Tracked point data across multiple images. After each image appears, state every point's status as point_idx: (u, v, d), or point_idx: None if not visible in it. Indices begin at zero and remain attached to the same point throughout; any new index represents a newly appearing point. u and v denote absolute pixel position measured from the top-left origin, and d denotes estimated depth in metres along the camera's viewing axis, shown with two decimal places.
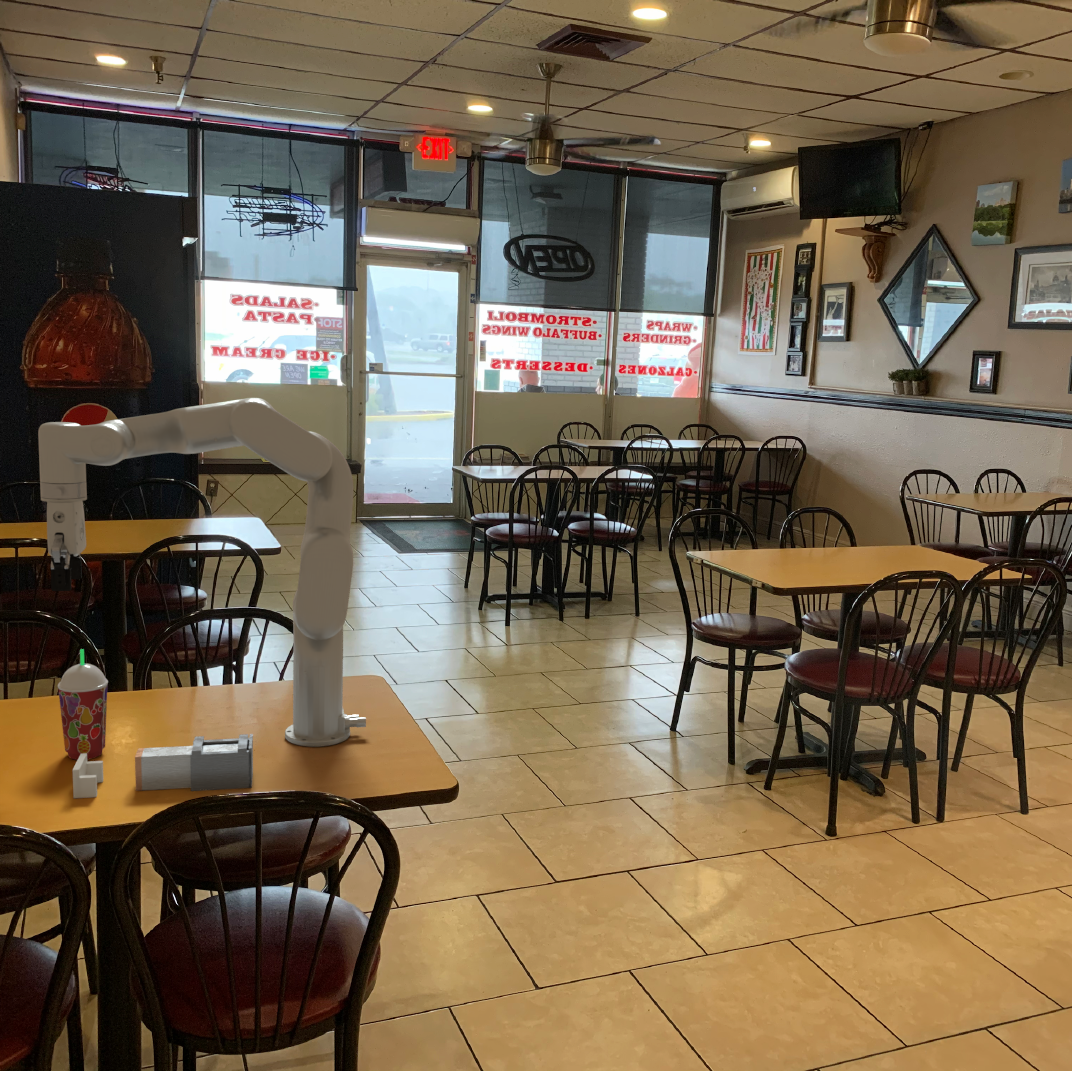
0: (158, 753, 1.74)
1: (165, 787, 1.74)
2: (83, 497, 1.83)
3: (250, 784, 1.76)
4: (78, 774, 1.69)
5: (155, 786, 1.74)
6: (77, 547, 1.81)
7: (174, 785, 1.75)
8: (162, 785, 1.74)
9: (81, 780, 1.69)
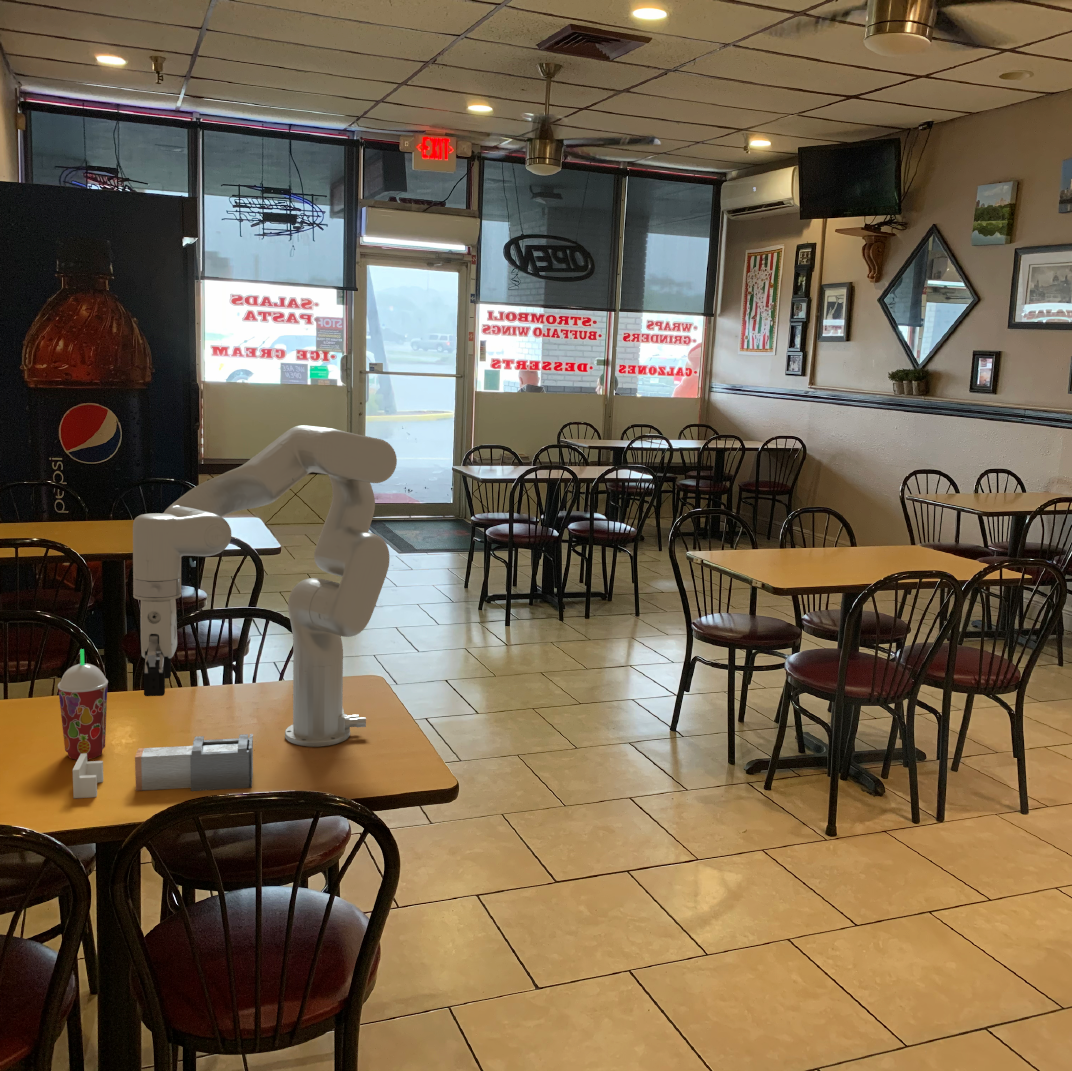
0: (158, 753, 1.74)
1: (165, 787, 1.74)
2: (178, 594, 1.70)
3: (250, 784, 1.76)
4: (78, 774, 1.69)
5: (155, 786, 1.74)
6: (172, 648, 1.69)
7: (174, 785, 1.75)
8: (162, 785, 1.74)
9: (81, 780, 1.69)
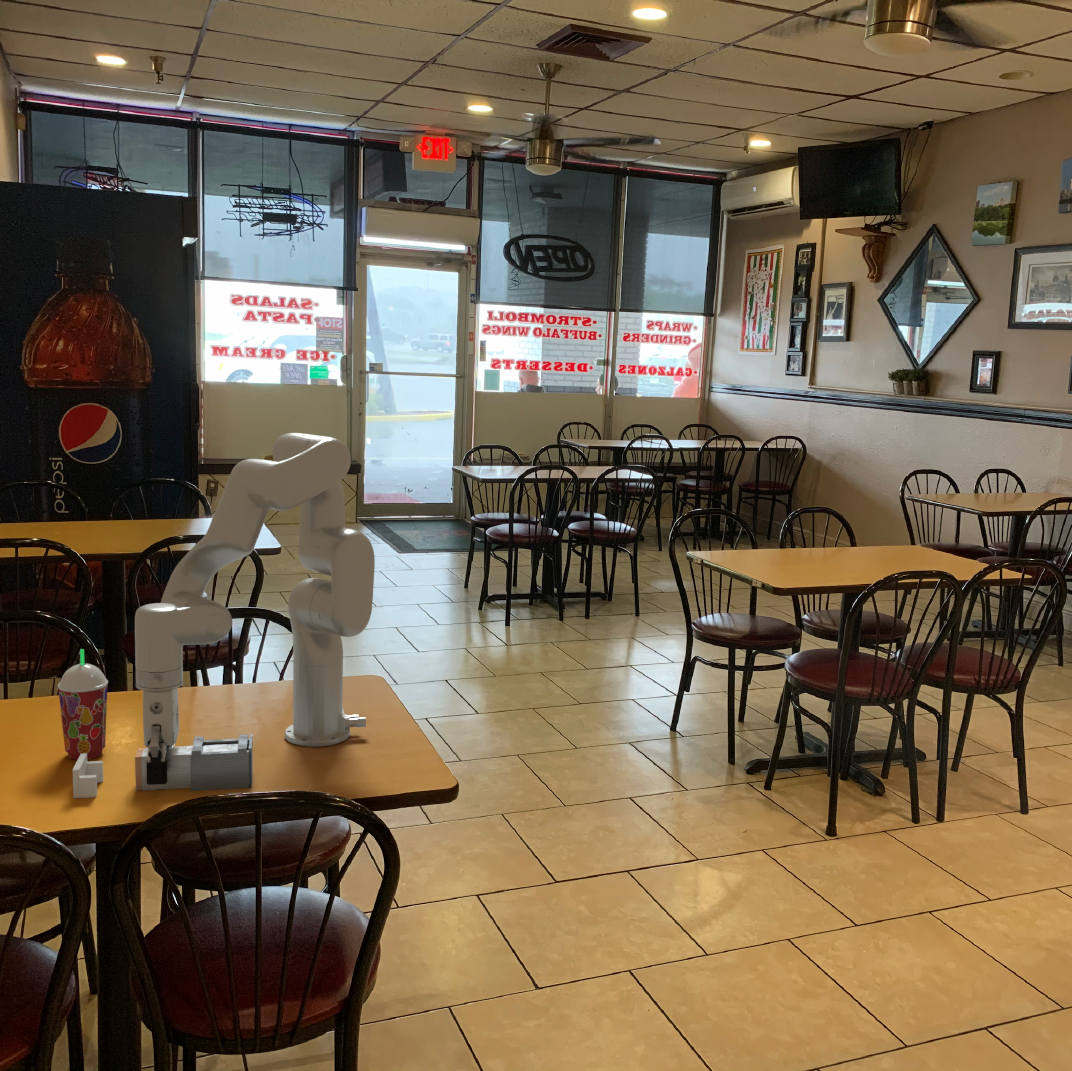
0: None
1: (165, 787, 1.74)
2: (180, 683, 1.73)
3: (250, 784, 1.76)
4: (78, 774, 1.69)
5: (155, 786, 1.74)
6: (174, 737, 1.71)
7: (174, 785, 1.75)
8: (162, 785, 1.74)
9: (81, 780, 1.69)
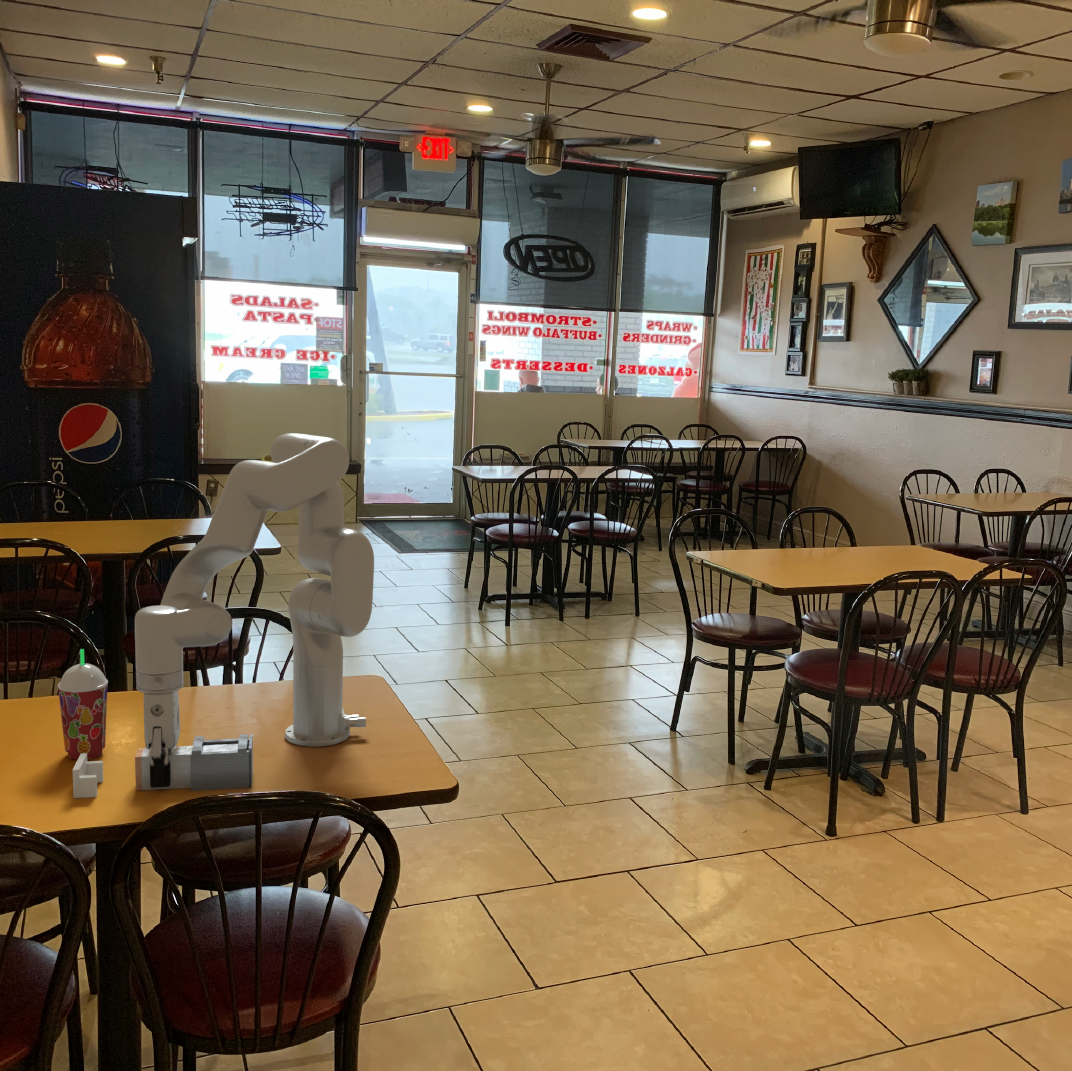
0: None
1: (165, 787, 1.74)
2: (180, 685, 1.73)
3: (250, 784, 1.76)
4: (78, 774, 1.69)
5: None
6: (175, 739, 1.72)
7: (174, 785, 1.75)
8: None
9: (81, 780, 1.69)
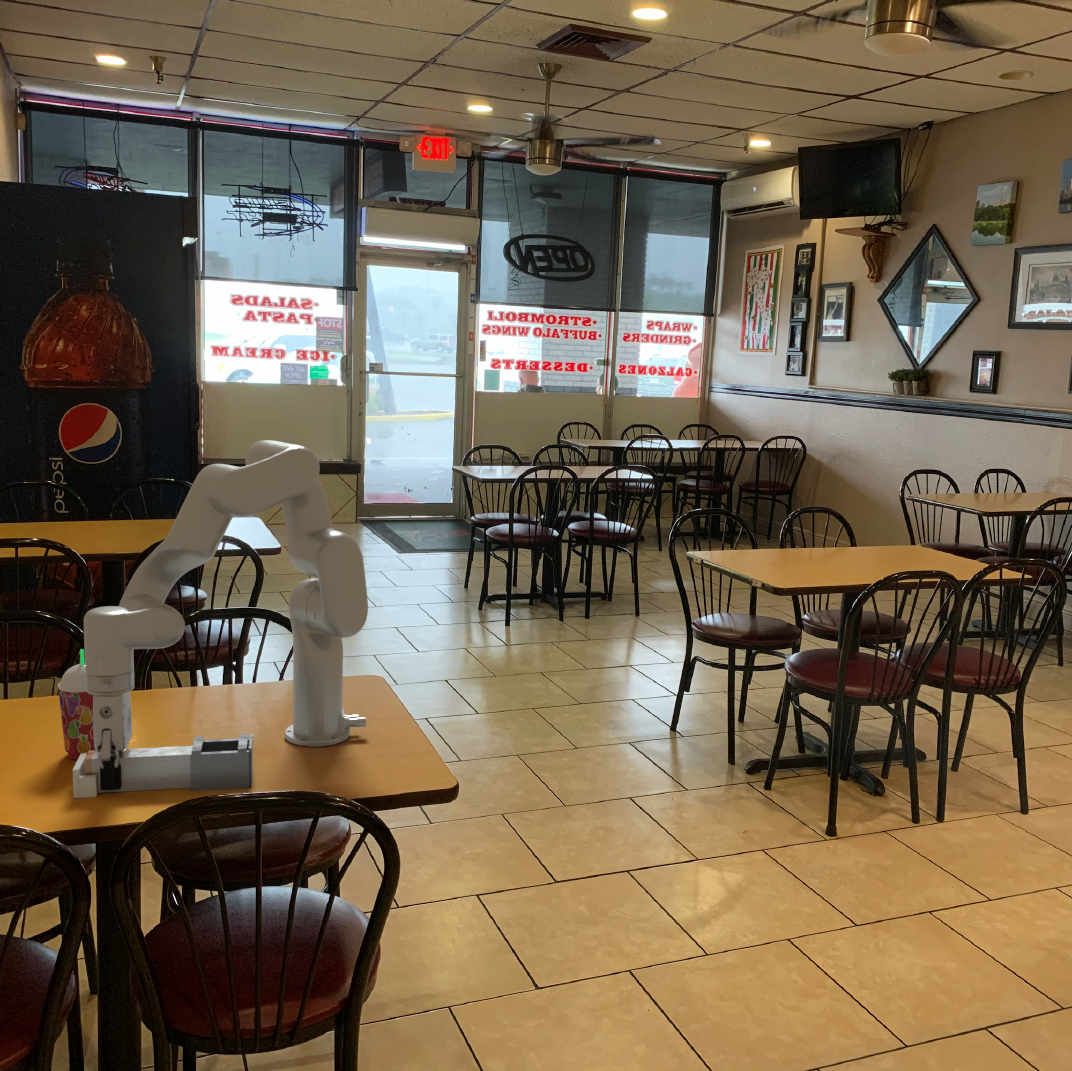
0: None
1: (116, 790, 1.73)
2: (131, 687, 1.71)
3: (250, 784, 1.76)
4: (78, 774, 1.69)
5: None
6: (125, 742, 1.70)
7: (125, 788, 1.73)
8: None
9: (81, 780, 1.69)
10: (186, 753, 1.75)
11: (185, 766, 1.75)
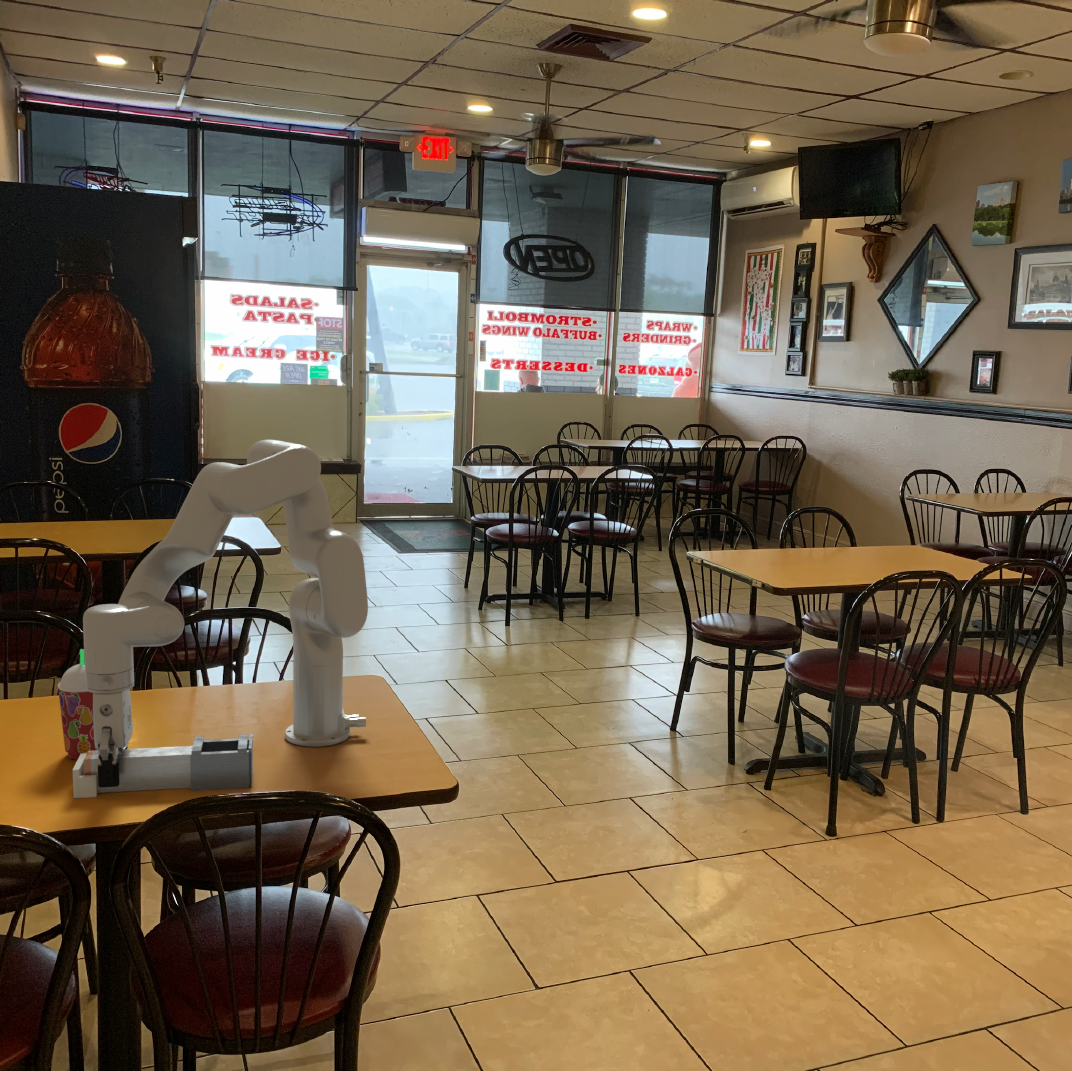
0: None
1: (115, 790, 1.73)
2: (131, 684, 1.71)
3: (250, 784, 1.76)
4: (78, 774, 1.69)
5: (105, 789, 1.72)
6: (125, 739, 1.70)
7: (124, 788, 1.73)
8: (112, 788, 1.72)
9: (81, 780, 1.69)
10: (185, 753, 1.75)
11: (184, 766, 1.75)
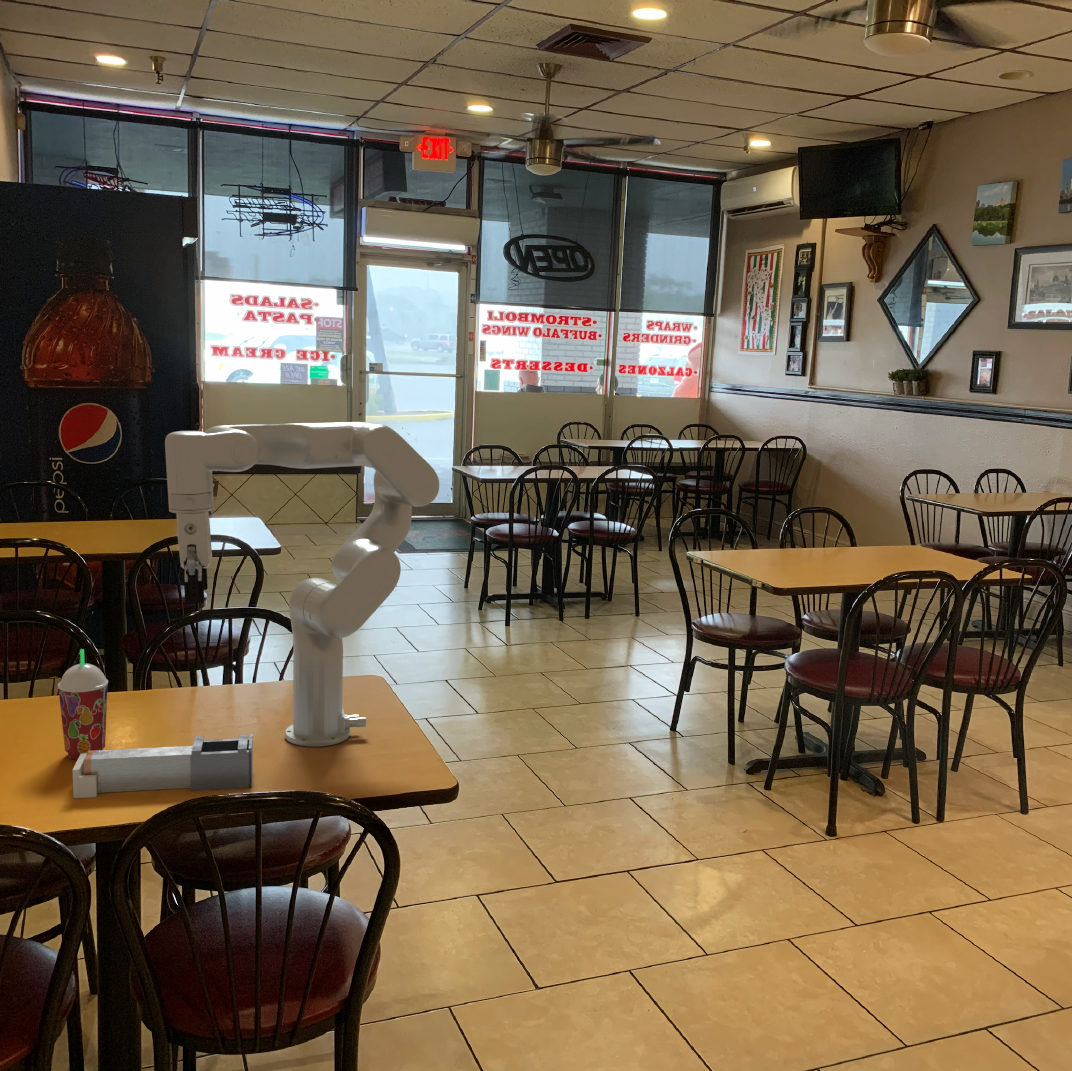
0: (108, 755, 1.72)
1: (115, 790, 1.73)
2: (211, 507, 1.79)
3: (250, 784, 1.76)
4: (78, 774, 1.69)
5: (105, 789, 1.72)
6: (209, 558, 1.78)
7: (124, 788, 1.73)
8: (112, 788, 1.72)
9: (81, 780, 1.69)
10: (185, 753, 1.75)
11: (184, 766, 1.75)
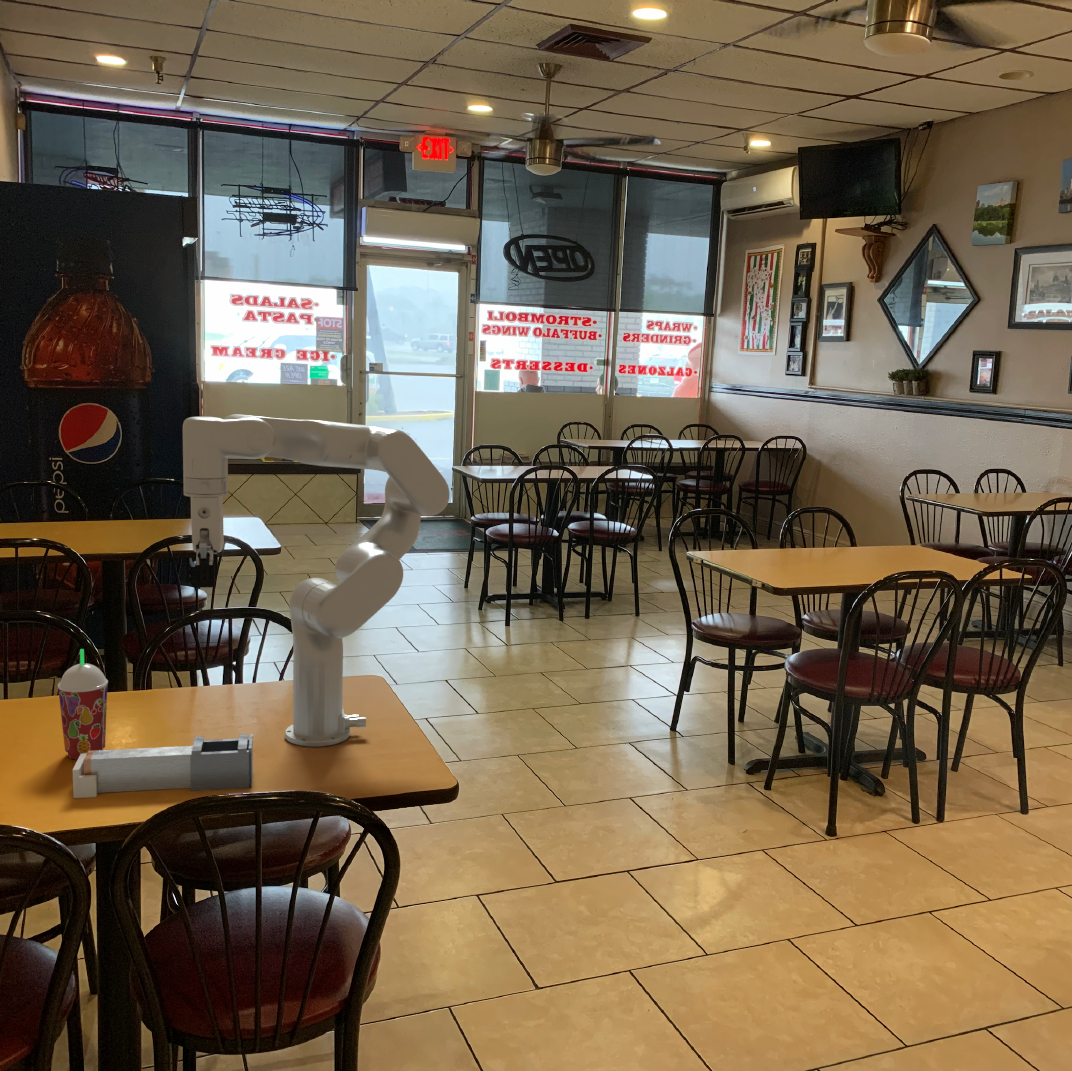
0: (108, 755, 1.72)
1: (115, 790, 1.73)
2: (226, 492, 1.81)
3: (250, 784, 1.76)
4: (78, 774, 1.69)
5: (105, 789, 1.72)
6: (221, 543, 1.79)
7: (124, 788, 1.73)
8: (112, 788, 1.72)
9: (81, 780, 1.69)
10: (185, 753, 1.75)
11: (184, 766, 1.75)
